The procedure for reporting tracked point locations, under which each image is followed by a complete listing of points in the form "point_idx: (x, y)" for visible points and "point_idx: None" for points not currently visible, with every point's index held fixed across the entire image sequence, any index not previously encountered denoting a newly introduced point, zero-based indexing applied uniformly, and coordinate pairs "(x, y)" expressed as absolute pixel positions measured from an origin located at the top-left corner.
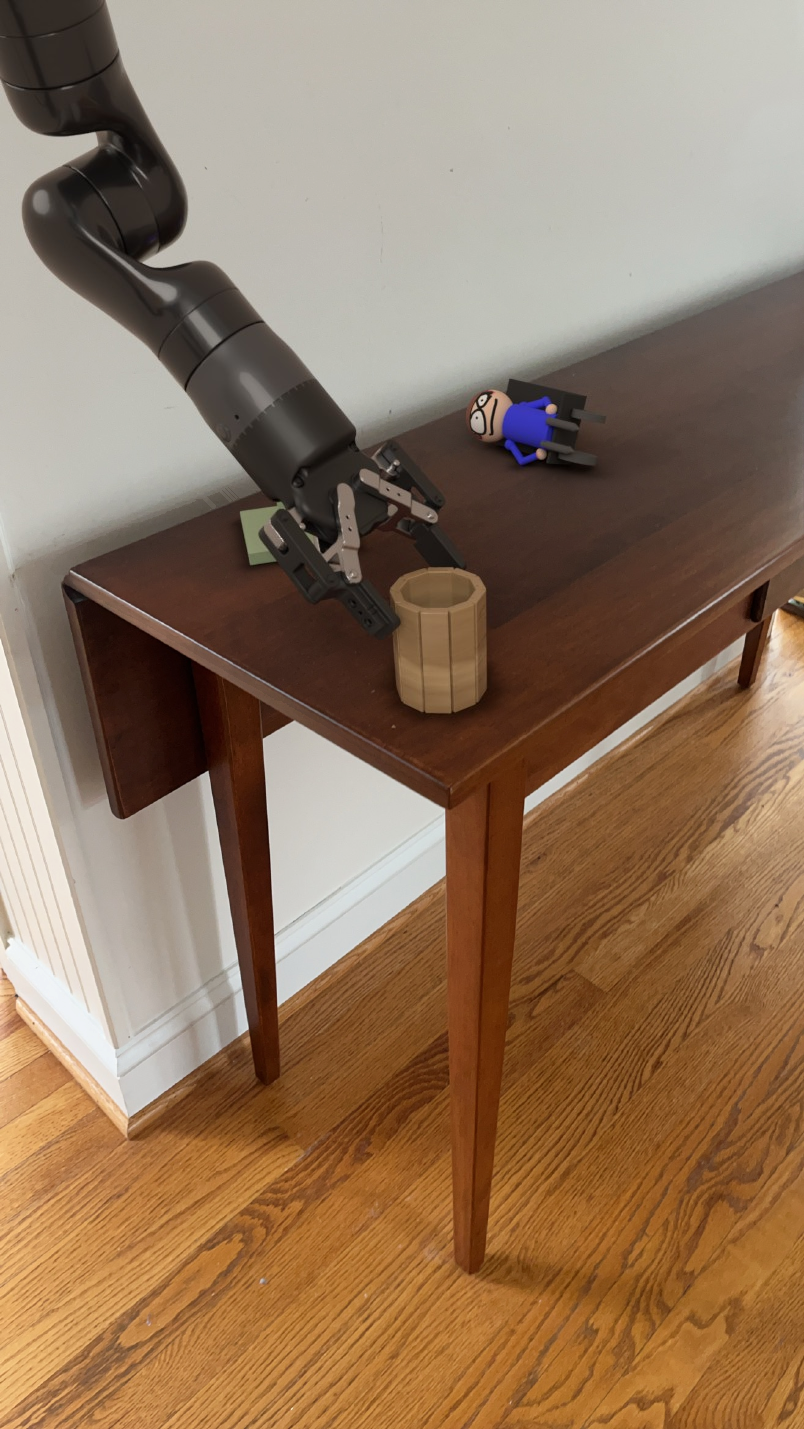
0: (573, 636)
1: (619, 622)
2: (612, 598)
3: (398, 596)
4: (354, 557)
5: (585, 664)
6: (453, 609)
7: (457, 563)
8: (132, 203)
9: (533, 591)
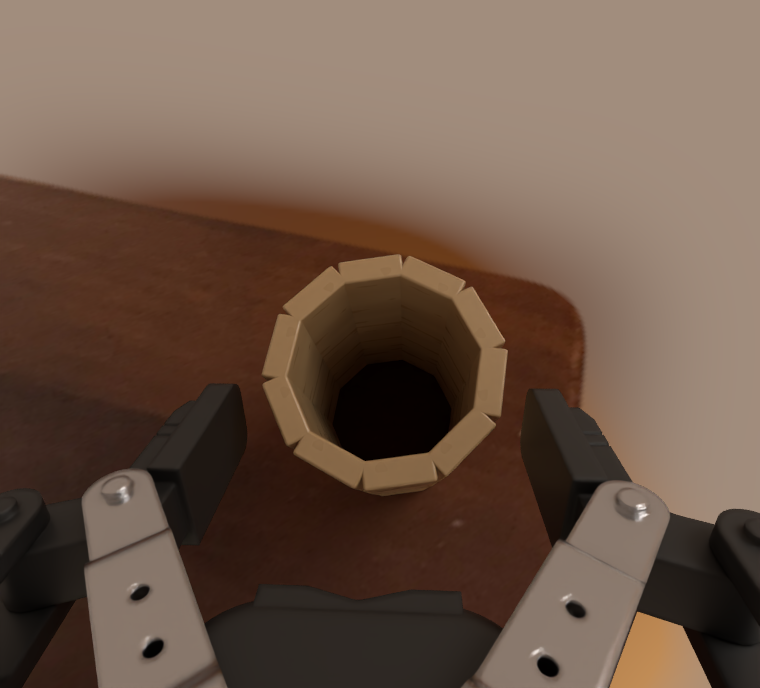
0: (169, 301)
1: (108, 259)
2: (37, 294)
3: (465, 433)
4: (591, 538)
5: (239, 256)
6: (451, 282)
7: (229, 392)
8: None
9: (40, 421)
